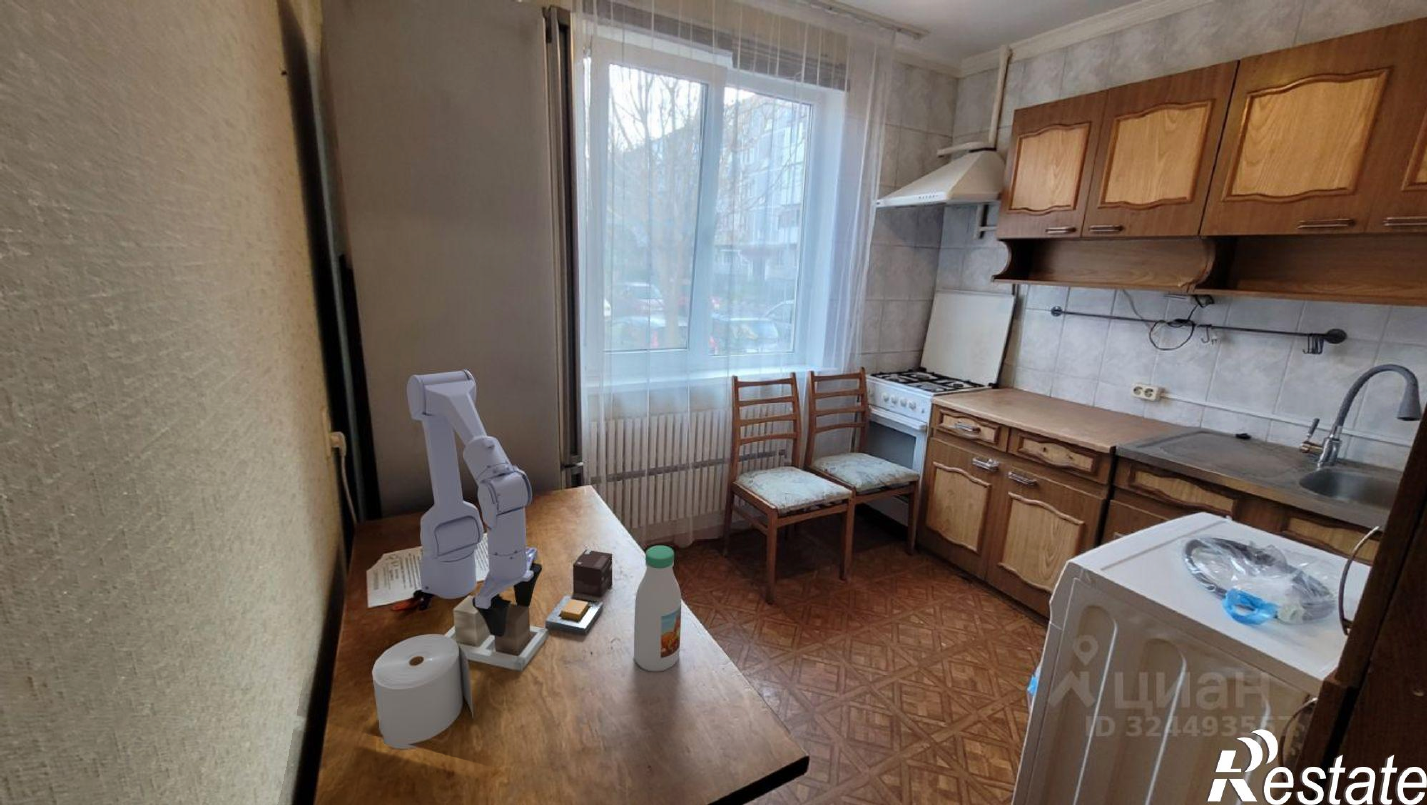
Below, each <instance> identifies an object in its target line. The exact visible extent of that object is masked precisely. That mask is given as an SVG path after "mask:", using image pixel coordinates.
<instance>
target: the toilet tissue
mask: <svg viewBox="0 0 1427 805" xmlns="http://www.w3.org/2000/svg"><path fill="white" fill-rule="evenodd" d="M444 635H445V634H444ZM444 635H443V634H436V633H434V634H433V633H432V634H431V633H430V634H423V635H422V634H421V635H417V636H412V637H409V638H407V639H404V640H402V641H400V642H398V643H395V644H394V645H393V646H391V647H390V648H387V649H386V650H384V652H383V653H382V654H381V655H380V656H379V657H378V658H377V659H376V660H375V663H374V665H373V668H372V671H371V675H372V681H373V682H372V684H373V687H374V688H373V689H374V696H375V697H374V698H375V702H376V712H377V714H376V715H377V719H378V729H379V732H380V734H381V736H382V737H381V739H382V740H383V743H384V744H385V745H387V746H389V747H391V748H393V749H396V750H397V749H399V750H400V749H401V750H408V749H415V748H418V746H417V745H416V746H415V745H413V744H416V743H420V742H423V741H424V742H425V741H428V740H430V739H432V738H433V737H435V736H437V735H439V734H441V733H443V732H444V731H445V730H446V729H448V728H449V727H450V726H451V725H452V724H453V723H454V722H455V720H457V718H458V717H459V715H461V712H462V708H463V704H464V699H465V701H466V703H467V704H468V707H469V709H470V712H471V714H472V717H474V711H473V710H474V709H473V699H472V695H473V694H472V687H471V674H470V667H469V666H470V665H469V659H467V657H466V656H465V652H464V651H463V650H462V648H461V647H460V646H459V645H458V644H457V643H456V642H455V641H454V640H453V639H451V638H449V637H447V636H444ZM463 697H464V698H463Z"/></svg>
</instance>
